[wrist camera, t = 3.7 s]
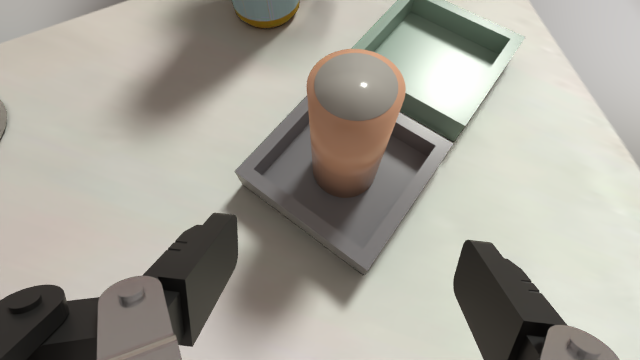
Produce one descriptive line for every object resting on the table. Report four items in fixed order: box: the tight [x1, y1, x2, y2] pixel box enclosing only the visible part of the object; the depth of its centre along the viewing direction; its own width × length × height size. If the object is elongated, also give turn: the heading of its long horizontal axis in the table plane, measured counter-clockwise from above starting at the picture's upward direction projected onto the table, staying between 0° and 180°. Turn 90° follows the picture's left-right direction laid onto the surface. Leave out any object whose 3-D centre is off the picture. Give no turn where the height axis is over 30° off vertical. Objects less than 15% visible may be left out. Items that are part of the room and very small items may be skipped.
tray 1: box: [235, 96, 454, 275], centre depth 25 cm, size 12×12×2 cm
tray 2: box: [352, 0, 525, 142], centre depth 29 cm, size 12×12×2 cm
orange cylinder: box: [307, 49, 406, 198], centre depth 21 cm, size 5×5×10 cm
